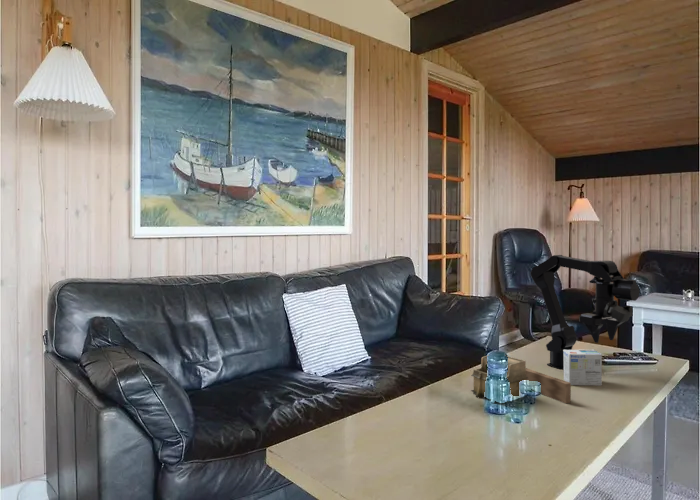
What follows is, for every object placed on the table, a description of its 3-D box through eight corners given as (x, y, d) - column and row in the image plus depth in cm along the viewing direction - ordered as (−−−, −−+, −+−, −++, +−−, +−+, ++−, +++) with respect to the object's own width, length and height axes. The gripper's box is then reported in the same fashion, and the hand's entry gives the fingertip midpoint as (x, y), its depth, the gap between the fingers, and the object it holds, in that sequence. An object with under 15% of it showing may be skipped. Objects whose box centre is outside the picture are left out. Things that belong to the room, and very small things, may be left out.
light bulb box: (594, 379, 168) (594, 348, 167) (602, 386, 161) (602, 354, 161) (562, 379, 169) (562, 348, 168) (569, 385, 162) (569, 353, 162)
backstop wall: (512, 383, 166) (511, 365, 165) (516, 382, 167) (516, 364, 166) (566, 403, 146) (566, 383, 146) (570, 402, 147) (570, 382, 147)
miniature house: (495, 384, 165) (494, 351, 165) (530, 395, 154) (530, 360, 153) (464, 393, 157) (463, 358, 156) (499, 406, 145) (499, 368, 145)
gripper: (608, 302, 157) (607, 349, 158) (644, 297, 165) (643, 343, 166) (578, 297, 167) (577, 342, 168) (614, 293, 175) (613, 336, 176)
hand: (603, 341), depth 169 cm, fingers open, 7 cm apart
